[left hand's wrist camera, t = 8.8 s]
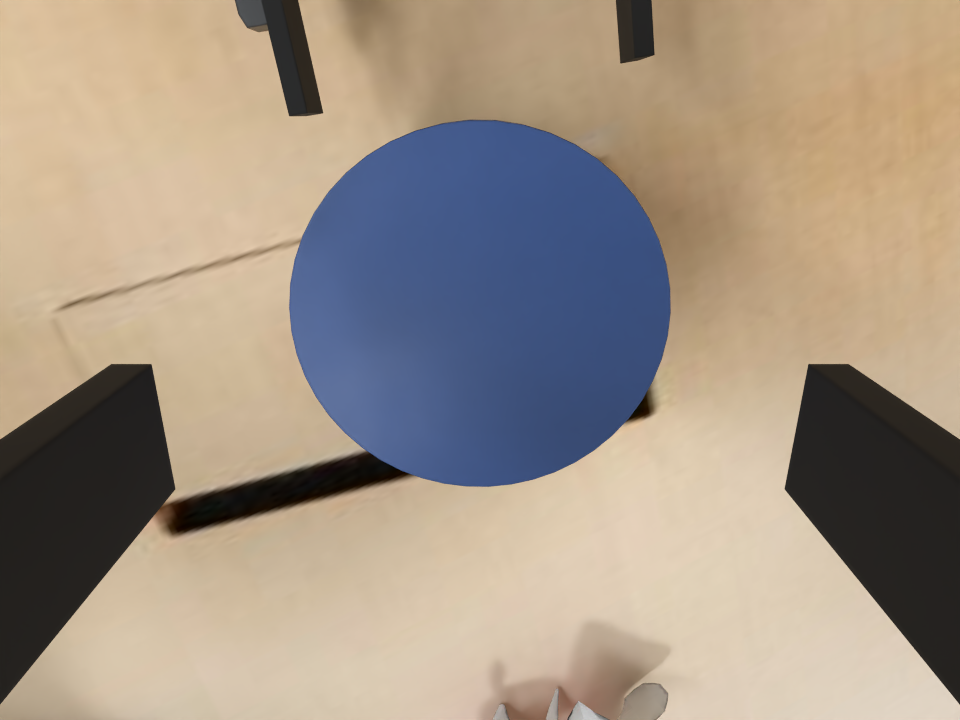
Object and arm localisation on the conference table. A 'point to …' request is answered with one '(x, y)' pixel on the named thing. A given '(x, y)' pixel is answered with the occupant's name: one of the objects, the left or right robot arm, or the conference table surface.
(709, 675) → the conference table surface
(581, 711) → the fish
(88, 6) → the conference table surface
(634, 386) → the lid
